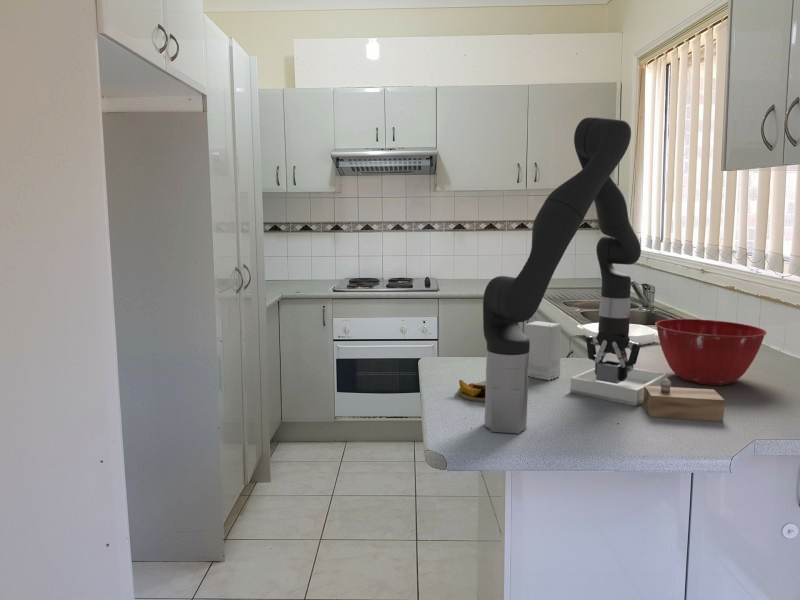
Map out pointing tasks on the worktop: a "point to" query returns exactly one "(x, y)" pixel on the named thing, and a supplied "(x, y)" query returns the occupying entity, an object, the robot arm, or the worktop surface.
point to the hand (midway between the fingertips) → (610, 378)
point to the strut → (609, 371)
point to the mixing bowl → (709, 349)
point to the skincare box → (544, 349)
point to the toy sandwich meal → (472, 391)
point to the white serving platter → (635, 332)
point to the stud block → (683, 402)
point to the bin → (617, 386)
